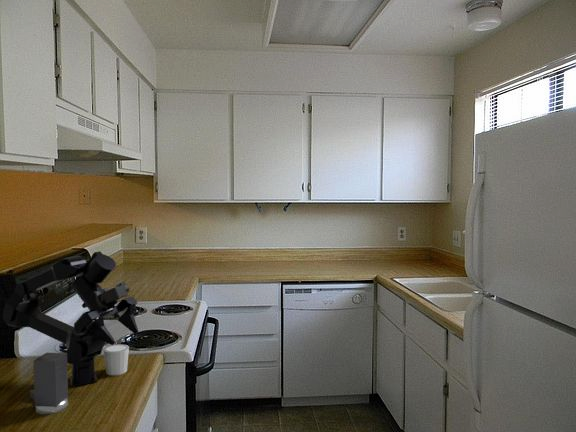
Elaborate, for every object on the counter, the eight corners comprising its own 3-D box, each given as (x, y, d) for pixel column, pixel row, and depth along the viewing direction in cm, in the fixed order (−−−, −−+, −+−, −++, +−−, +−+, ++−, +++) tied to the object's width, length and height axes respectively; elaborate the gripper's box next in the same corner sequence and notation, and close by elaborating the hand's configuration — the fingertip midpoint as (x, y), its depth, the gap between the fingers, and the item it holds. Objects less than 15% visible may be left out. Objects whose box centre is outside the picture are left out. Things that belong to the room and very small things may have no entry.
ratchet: (72, 406, 106) (72, 392, 106) (42, 417, 101) (42, 402, 101) (50, 390, 115) (49, 376, 115) (21, 399, 110) (21, 385, 110)
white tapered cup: (111, 366, 131) (111, 343, 131) (133, 367, 130) (133, 344, 130) (99, 375, 124) (98, 351, 124) (122, 377, 124) (122, 352, 123)
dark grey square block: (47, 395, 108) (46, 352, 108) (68, 396, 108) (67, 352, 108) (34, 406, 103) (33, 360, 103) (56, 406, 103) (55, 361, 102)
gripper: (82, 281, 108) (119, 330, 105) (131, 268, 125) (164, 310, 123) (57, 309, 111) (93, 357, 108) (109, 293, 128) (141, 334, 125)
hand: (126, 338), depth 116 cm, fingers open, 9 cm apart
